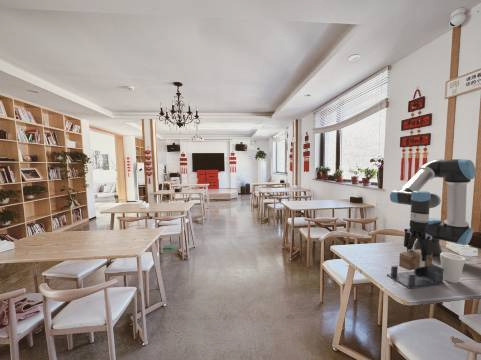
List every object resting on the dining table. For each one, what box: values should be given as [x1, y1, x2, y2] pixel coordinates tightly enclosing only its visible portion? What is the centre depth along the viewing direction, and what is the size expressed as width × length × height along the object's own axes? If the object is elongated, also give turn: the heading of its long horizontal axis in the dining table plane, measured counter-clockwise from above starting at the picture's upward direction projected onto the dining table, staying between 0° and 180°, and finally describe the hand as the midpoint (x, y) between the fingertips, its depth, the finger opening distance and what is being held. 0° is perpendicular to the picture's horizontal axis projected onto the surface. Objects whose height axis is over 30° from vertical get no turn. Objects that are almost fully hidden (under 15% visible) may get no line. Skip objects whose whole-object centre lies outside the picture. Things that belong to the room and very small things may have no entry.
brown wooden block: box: [398, 249, 433, 271], centre depth 117 cm, size 18×5×7 cm, turn 111°
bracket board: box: [386, 263, 446, 290], centre depth 118 cm, size 22×13×8 cm, turn 102°
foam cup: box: [439, 252, 466, 284], centre depth 118 cm, size 10×9×13 cm
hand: (415, 263), depth 117 cm, fingers closed on brown wooden block, 5 cm apart
